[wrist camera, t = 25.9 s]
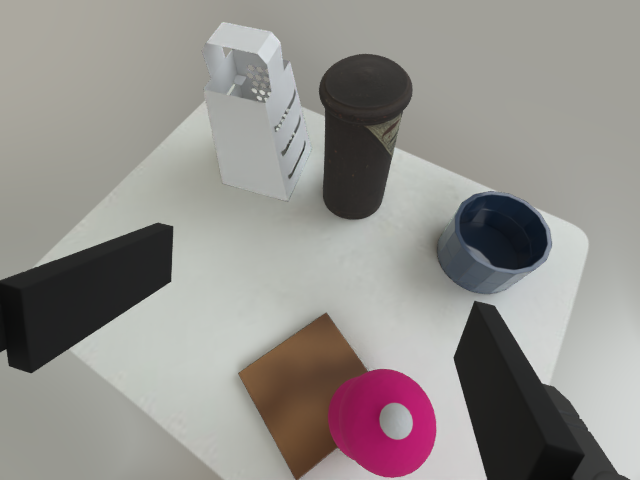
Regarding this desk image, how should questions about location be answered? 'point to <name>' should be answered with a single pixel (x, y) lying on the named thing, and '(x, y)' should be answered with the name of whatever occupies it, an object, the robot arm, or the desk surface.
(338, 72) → the container
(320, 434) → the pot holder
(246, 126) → the grater
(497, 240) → the pot
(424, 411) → the pepper mill
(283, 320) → the desk surface
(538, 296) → the desk surface
